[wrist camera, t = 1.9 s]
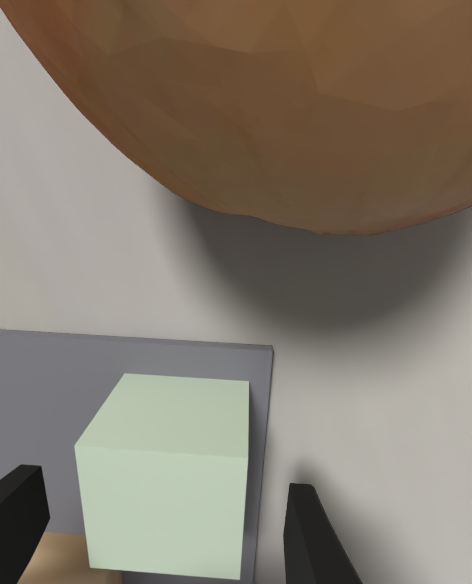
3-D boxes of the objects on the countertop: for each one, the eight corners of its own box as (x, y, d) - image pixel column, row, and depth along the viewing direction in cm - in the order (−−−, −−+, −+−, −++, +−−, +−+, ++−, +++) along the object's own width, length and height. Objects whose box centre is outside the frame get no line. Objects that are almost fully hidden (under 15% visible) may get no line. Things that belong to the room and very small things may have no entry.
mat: (272, 345, 12) (272, 351, 11) (246, 645, 17) (246, 656, 16) (-134, 321, 12) (-147, 325, 12) (-39, 620, 17) (-45, 630, 17)
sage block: (249, 381, 12) (248, 458, 8) (242, 479, 13) (239, 580, 10) (124, 373, 12) (74, 446, 8) (131, 471, 13) (89, 567, 10)
